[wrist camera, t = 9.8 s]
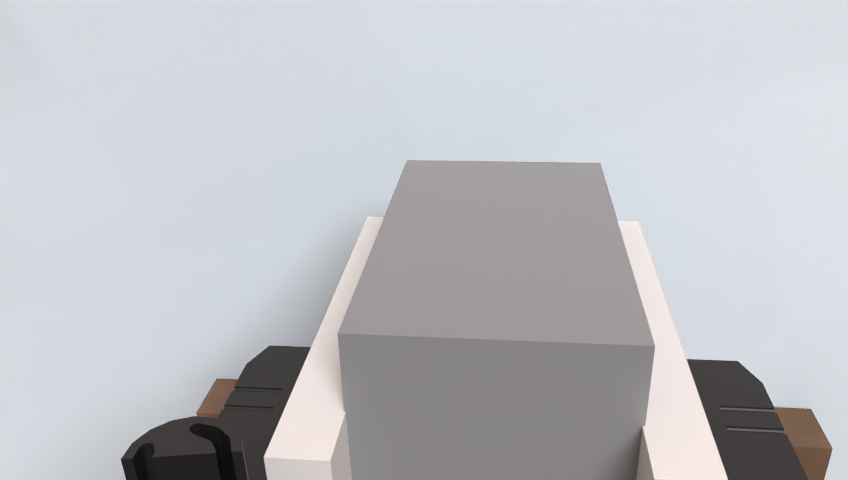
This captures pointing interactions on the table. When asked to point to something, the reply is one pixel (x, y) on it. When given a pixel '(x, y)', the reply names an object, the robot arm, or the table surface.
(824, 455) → the walnut board
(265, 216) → the table surface
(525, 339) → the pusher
